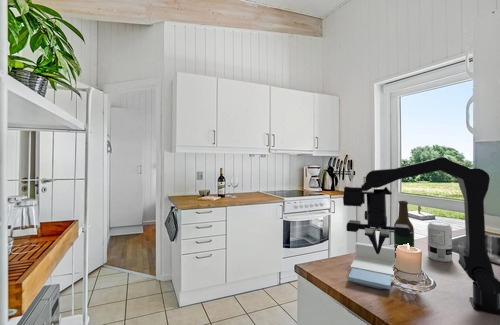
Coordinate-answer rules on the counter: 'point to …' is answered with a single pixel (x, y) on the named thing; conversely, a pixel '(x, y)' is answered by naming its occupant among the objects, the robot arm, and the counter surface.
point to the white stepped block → (374, 259)
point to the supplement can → (440, 241)
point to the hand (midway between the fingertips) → (377, 253)
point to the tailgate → (370, 278)
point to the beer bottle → (404, 220)
